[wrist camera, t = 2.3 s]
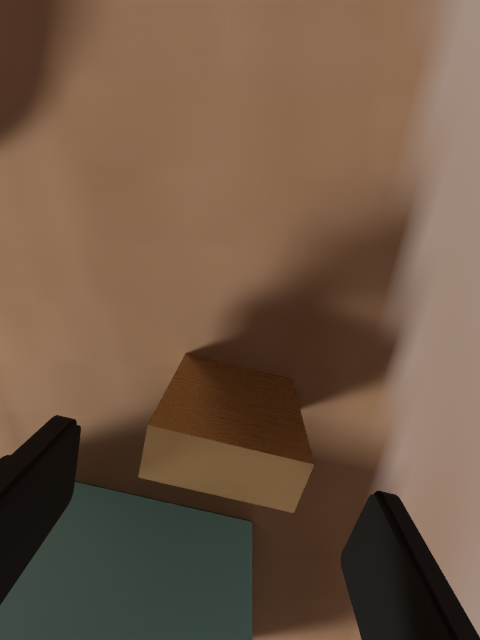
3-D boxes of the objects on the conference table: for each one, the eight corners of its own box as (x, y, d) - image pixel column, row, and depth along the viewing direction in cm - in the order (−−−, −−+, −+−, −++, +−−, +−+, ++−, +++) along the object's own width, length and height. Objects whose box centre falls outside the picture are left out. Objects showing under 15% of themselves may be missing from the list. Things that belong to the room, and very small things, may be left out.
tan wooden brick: (185, 352, 13) (147, 424, 8) (292, 379, 13) (314, 464, 9) (177, 390, 14) (137, 477, 9) (279, 415, 14) (293, 513, 9)
